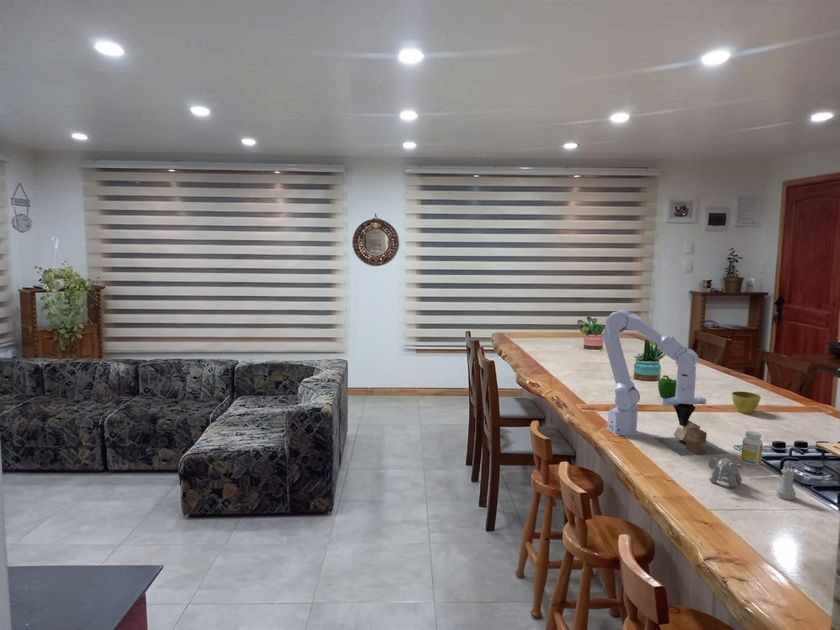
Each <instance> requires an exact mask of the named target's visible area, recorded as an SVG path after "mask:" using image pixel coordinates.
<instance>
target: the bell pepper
mask: <svg viewBox="0 0 840 630" xmlns="http://www.w3.org/2000/svg"><path fill="white" fill-rule="evenodd" d="M676 380H677V379H672V378H670V376H669V375H667V374H665V375H664V374H663V375H662V378H660V379H659V381H658V382H657V383H658V384H657V389H658V393H659V397H661V398H663V399H667V398H673V397H675V395H676Z"/></svg>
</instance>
